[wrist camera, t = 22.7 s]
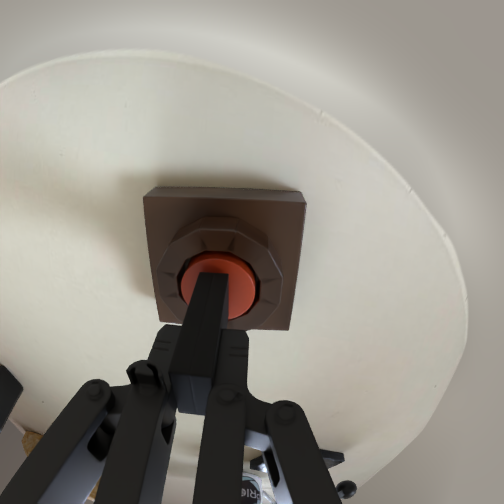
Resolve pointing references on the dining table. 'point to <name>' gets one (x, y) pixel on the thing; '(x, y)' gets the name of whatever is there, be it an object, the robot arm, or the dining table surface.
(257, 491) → the mug
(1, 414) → the wine bottle
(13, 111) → the dining table surface
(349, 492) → the lever handle
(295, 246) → the button block
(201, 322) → the robot arm
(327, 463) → the black lever stand
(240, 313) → the button
